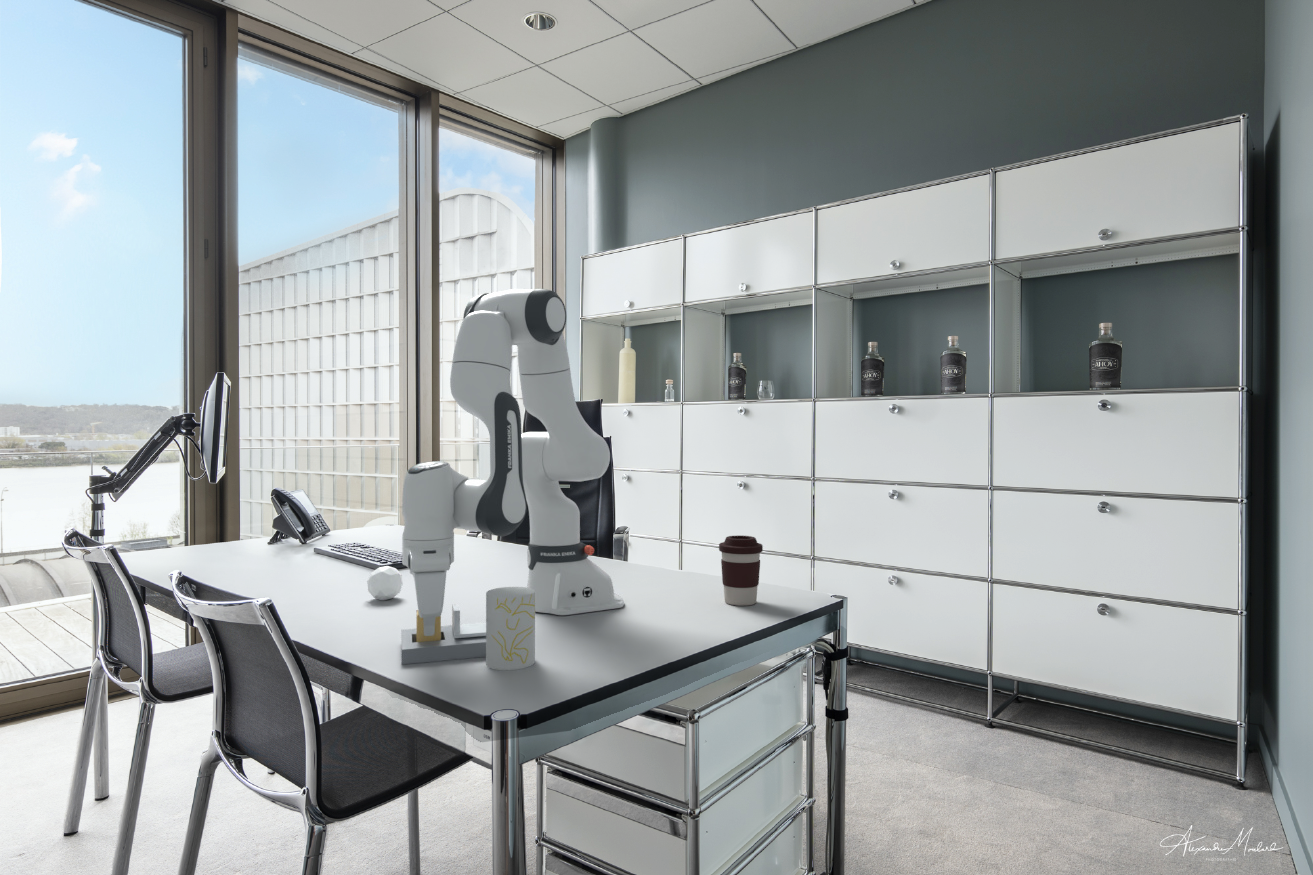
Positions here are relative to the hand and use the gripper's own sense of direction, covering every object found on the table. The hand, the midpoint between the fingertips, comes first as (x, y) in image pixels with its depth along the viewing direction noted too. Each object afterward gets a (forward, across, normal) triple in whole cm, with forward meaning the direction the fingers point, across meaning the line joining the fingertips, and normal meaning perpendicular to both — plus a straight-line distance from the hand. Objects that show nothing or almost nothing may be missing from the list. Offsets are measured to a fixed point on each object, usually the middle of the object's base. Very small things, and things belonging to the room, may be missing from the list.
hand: (428, 630), depth 132 cm
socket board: (+4, 0, +3) cm, 5 cm away
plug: (+3, 0, 0) cm, 3 cm away
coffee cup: (+4, -16, +69) cm, 71 cm away
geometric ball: (+4, -45, -8) cm, 46 cm away
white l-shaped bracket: (+1, 0, +8) cm, 8 cm away
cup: (+4, +11, +13) cm, 17 cm away
